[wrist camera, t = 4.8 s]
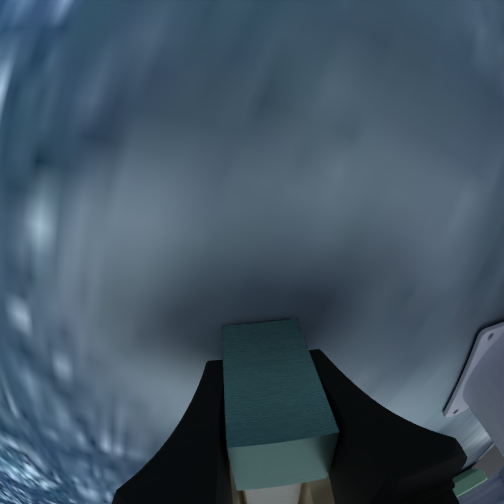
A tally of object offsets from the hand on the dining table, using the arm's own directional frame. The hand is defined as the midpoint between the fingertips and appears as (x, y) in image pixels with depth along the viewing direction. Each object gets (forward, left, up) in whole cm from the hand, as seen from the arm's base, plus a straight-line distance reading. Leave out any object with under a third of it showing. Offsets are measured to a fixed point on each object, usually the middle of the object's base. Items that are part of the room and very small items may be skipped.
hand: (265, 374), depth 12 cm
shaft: (0, +10, -2) cm, 11 cm away
